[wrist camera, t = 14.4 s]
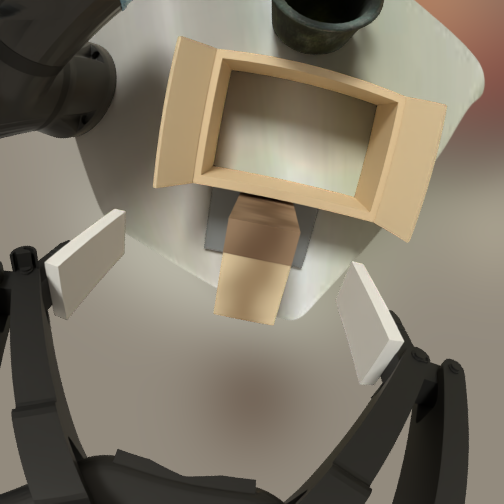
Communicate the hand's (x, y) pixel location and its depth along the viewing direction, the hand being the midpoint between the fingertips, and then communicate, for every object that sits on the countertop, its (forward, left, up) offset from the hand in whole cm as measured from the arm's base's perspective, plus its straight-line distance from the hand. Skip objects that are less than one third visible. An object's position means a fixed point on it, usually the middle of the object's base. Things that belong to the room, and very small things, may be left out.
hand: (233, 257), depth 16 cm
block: (+2, -6, -23) cm, 23 cm away
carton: (+4, +7, -23) cm, 24 cm away
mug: (+4, +24, -23) cm, 34 cm away
